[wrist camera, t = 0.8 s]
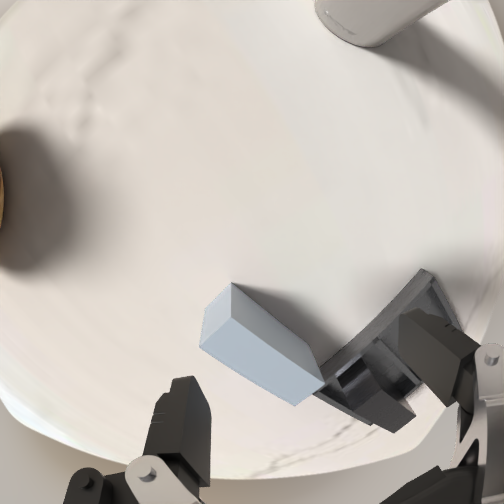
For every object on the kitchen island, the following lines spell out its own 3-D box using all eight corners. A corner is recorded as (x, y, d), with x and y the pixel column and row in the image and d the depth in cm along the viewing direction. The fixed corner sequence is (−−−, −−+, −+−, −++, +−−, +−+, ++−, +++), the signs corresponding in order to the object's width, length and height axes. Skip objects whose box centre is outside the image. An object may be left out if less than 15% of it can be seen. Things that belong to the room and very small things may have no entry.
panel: (231, 281, 27) (231, 316, 21) (308, 344, 30) (325, 383, 23) (205, 307, 28) (198, 347, 21) (284, 364, 31) (294, 406, 24)
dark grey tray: (421, 268, 28) (460, 293, 21) (456, 331, 32) (484, 355, 25) (305, 379, 32) (319, 422, 24) (365, 415, 36) (382, 448, 28)
